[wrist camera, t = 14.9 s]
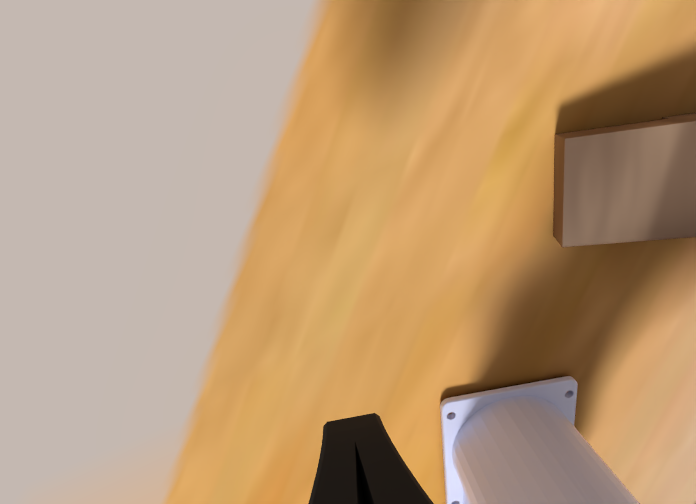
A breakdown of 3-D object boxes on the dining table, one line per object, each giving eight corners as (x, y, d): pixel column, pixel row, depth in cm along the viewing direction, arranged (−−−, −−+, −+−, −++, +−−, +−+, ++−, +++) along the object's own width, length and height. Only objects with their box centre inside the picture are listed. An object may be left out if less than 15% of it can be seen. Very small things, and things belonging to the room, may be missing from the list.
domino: (554, 134, 19) (763, 105, 17) (553, 235, 21) (742, 219, 19) (564, 138, 17) (795, 107, 16) (562, 247, 19) (768, 231, 17)
